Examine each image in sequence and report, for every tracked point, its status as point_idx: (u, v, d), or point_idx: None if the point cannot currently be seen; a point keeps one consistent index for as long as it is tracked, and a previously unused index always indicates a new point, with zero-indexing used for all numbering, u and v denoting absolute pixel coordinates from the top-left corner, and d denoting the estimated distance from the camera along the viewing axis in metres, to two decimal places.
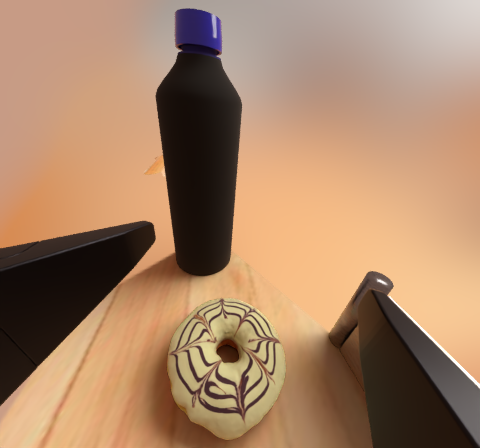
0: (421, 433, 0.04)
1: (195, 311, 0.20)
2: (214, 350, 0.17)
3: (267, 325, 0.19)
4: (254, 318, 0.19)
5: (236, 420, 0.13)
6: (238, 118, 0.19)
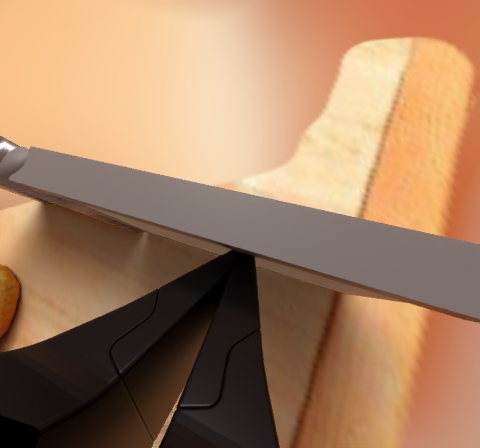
0: None
1: None
2: None
3: None
4: None
5: None
6: None
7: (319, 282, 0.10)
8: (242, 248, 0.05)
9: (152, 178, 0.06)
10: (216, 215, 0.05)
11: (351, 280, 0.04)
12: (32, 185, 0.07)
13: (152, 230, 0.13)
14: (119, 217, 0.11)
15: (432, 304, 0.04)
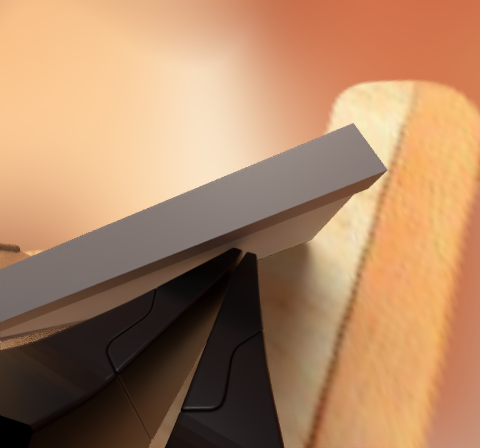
0: None
1: None
2: None
3: None
4: None
5: None
6: None
7: (284, 243, 0.11)
8: (178, 252, 0.05)
9: (57, 252, 0.06)
10: (138, 241, 0.05)
11: (274, 213, 0.05)
12: None
13: (112, 307, 0.11)
14: (64, 319, 0.09)
15: (334, 190, 0.05)
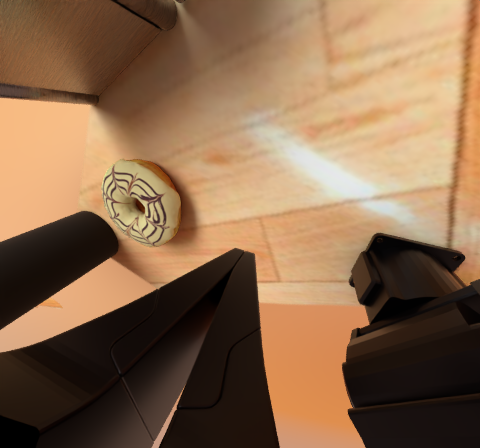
0: None
1: None
2: (143, 217, 0.23)
3: (106, 177, 0.21)
4: (107, 190, 0.22)
5: (165, 199, 0.20)
6: None
7: None
8: None
9: None
10: None
11: None
12: None
13: None
14: None
15: None
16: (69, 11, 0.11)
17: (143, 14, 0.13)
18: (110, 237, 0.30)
